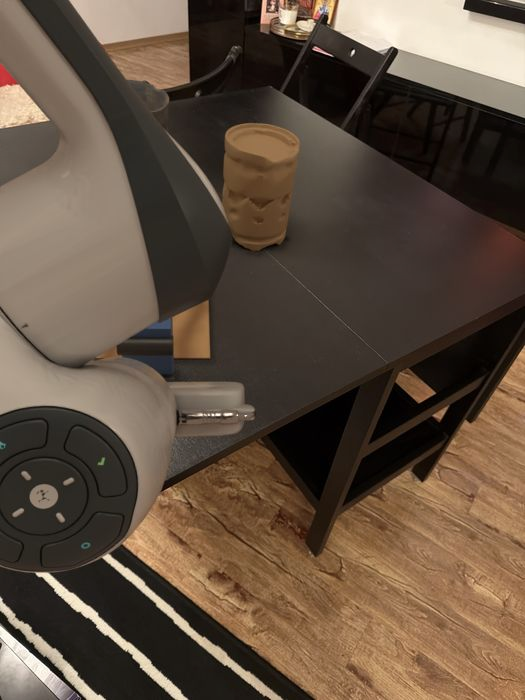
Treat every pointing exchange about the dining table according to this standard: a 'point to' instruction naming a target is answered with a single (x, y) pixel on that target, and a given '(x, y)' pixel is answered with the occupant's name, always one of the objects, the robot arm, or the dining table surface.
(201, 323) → the brown flat square board
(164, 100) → the cup
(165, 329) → the toy car
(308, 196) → the dining table surface
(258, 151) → the container
